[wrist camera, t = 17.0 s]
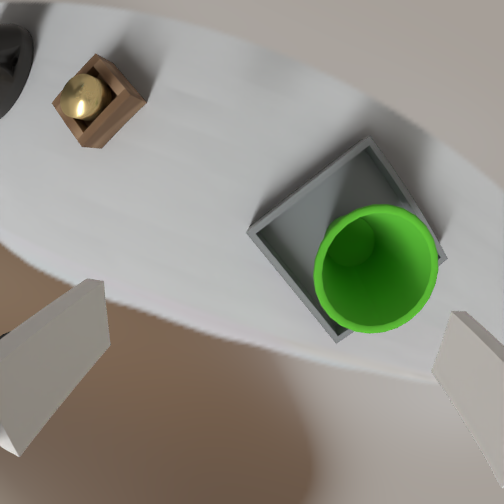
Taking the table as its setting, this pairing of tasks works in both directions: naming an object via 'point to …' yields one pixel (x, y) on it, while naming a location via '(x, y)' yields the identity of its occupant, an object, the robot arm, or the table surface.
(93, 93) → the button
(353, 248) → the cup
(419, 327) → the table surface
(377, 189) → the tray
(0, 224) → the table surface
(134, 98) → the block
